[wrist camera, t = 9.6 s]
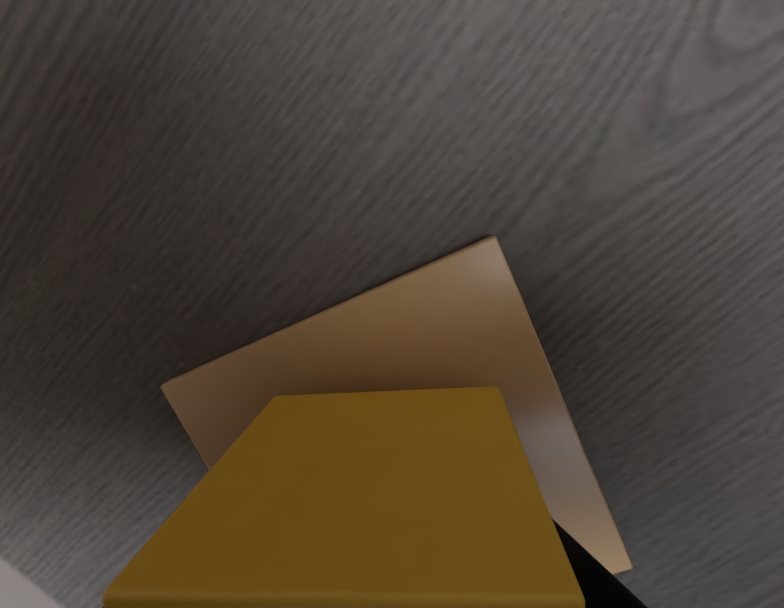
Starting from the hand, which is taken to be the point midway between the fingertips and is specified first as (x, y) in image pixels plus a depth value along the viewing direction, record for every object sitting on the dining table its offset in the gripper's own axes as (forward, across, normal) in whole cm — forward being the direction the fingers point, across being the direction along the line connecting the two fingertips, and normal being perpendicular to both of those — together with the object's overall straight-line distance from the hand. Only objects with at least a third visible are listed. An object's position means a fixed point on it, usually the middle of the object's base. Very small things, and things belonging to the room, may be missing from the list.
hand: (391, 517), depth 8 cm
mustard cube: (+1, 0, 0) cm, 1 cm away
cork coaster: (+2, 0, 0) cm, 2 cm away
